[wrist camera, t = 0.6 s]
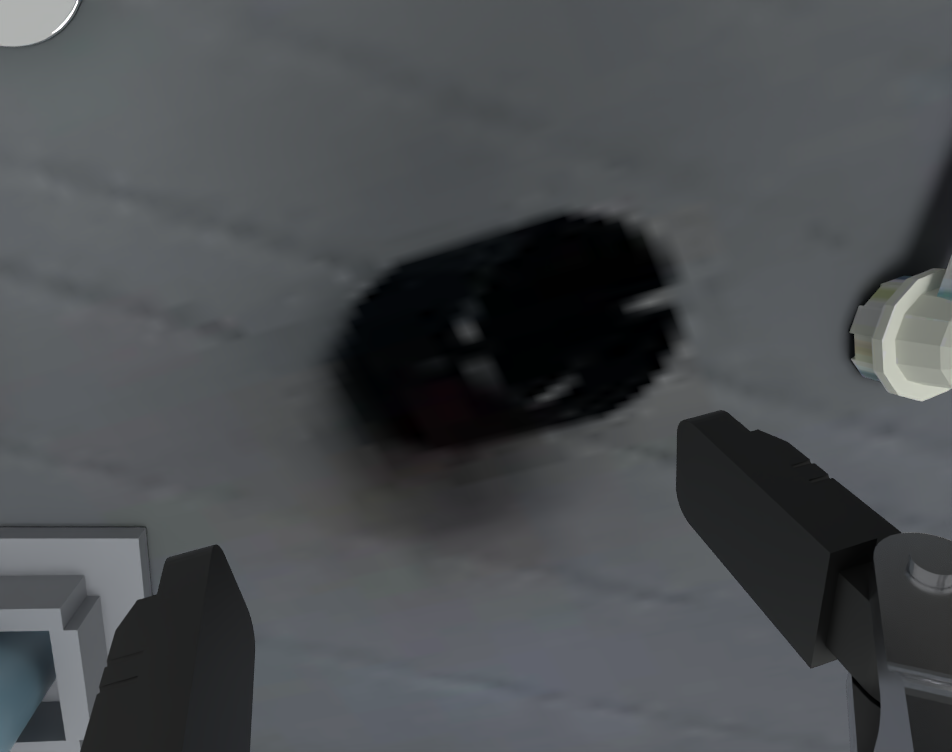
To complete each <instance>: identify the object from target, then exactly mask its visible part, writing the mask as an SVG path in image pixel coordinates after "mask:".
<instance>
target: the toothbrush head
mask: <svg viewBox="0 0 952 752" xmlns="http://www.w3.org/2000/svg"><path fill="white" fill-rule="evenodd" d="M880 286H881V287H880V288H879V289H878V290H877V291H876V292H875V294H874V295H873V296H872V297H871V298H870V299H869V300H868V302H867V303H866V304H865V305H864V306H862V305H859V307H858V310H857V313H856V315H855V318H854V321H853V324H852V327H851V330H850V332H849V333H852V334H854V342H855V356H854V357H853V358H851V360H852V361H853V363H854V364H855V366H856V367H857V369H858V370H859V372H860V373H861V375H862V376H863V377H865V378H869V379H873V380H877V381H880V382H881V383H882V384H883V386H884V387H885V389H886V390H887V392H889V393H892V394H896V395H899V396H903V397H907V398H911V399H914V400H918V401H924V400H927V399H929V398H932V397H934V396H936V395H939V394H941V393H944V392H946V391H948V390H949V389H950V388H951V389H952V255H951V258H950V261H949V264H948V267H947V269H941V268H933V269H930V270H928V271H925V272H923V273H920V274H917V275H915V276H901V277H899V278H896V279H893V280H891V281H888V282H885V283H882V284H880Z"/></svg>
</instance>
